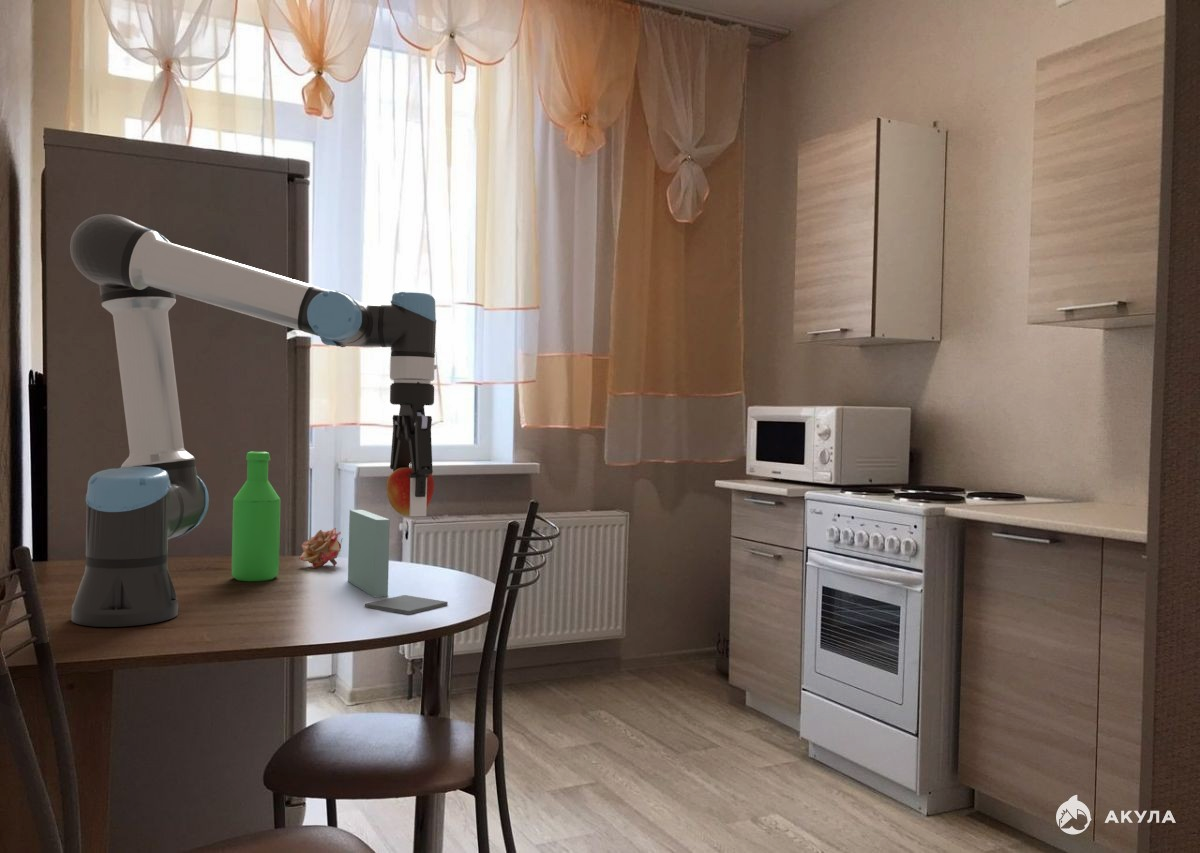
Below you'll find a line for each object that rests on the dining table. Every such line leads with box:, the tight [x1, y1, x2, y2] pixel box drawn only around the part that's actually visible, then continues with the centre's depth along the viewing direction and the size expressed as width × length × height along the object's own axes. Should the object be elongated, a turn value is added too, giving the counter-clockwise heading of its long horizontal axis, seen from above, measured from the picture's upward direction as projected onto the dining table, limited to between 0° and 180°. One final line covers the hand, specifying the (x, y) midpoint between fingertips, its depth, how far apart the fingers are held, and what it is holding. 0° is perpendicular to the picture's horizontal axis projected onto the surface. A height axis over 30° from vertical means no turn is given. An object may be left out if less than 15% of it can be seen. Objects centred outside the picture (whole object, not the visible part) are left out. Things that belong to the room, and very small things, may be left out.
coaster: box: [364, 594, 448, 615], centre depth 168 cm, size 10×10×1 cm
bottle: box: [231, 450, 282, 582], centre depth 191 cm, size 9×9×25 cm
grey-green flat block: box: [347, 509, 391, 598], centre depth 184 cm, size 18×3×14 cm, turn 30°
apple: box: [386, 457, 435, 517], centre depth 168 cm, size 8×8×10 cm
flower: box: [299, 527, 343, 569], centre depth 207 cm, size 10×9×8 cm
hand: (409, 513), depth 168 cm, fingers closed on apple, 8 cm apart
